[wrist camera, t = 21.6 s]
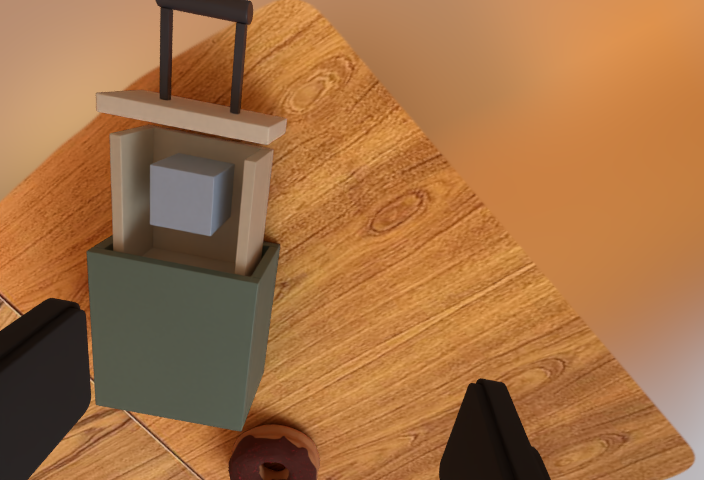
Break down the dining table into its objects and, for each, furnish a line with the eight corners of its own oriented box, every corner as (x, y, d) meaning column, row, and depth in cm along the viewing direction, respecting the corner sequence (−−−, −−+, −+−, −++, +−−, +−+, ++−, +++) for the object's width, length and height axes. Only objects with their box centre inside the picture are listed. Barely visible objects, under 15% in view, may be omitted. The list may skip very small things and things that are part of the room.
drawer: (141, -17, 30) (89, -37, 24) (299, 15, 30) (283, 2, 24) (142, 247, 37) (103, 276, 32) (268, 271, 38) (250, 304, 32)
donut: (265, 402, 44) (255, 432, 41) (339, 448, 46) (336, 480, 42) (217, 455, 48) (204, 488, 44) (288, 496, 49) (281, 530, 46)
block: (178, 152, 33) (149, 164, 29) (235, 163, 33) (214, 176, 29) (176, 206, 35) (149, 224, 30) (230, 216, 35) (210, 236, 30)
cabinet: (141, 217, 37) (86, 250, 30) (280, 244, 37) (258, 283, 30) (141, 350, 43) (95, 405, 36) (263, 373, 43) (241, 432, 36)
